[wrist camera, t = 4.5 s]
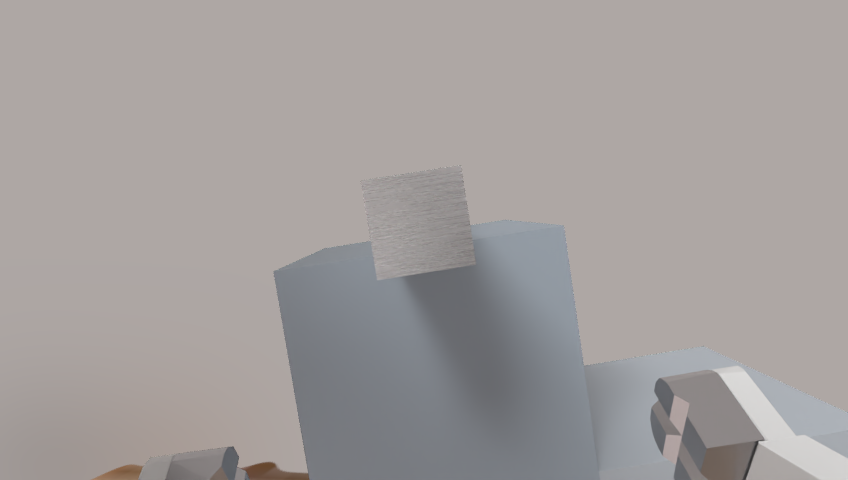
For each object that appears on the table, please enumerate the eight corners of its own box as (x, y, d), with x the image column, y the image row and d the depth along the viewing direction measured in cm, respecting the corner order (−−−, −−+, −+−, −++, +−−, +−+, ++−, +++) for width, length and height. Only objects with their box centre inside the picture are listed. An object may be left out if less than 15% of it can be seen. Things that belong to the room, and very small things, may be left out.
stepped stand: (914, 766, 25) (848, 180, 23) (375, 862, 24) (273, 271, 23) (732, 565, 39) (683, 191, 37) (387, 624, 38) (324, 248, 37)
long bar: (387, 240, 34) (378, 183, 34) (444, 231, 34) (435, 174, 34) (357, 283, 14) (334, 143, 14) (496, 261, 14) (474, 121, 14)
